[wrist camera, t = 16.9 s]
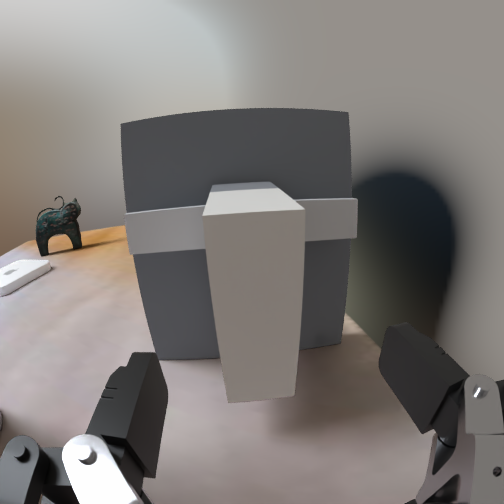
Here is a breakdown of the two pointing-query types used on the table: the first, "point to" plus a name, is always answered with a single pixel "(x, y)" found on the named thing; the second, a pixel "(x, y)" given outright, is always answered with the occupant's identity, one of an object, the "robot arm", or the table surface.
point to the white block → (256, 286)
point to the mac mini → (21, 274)
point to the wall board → (227, 172)
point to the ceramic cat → (59, 225)
